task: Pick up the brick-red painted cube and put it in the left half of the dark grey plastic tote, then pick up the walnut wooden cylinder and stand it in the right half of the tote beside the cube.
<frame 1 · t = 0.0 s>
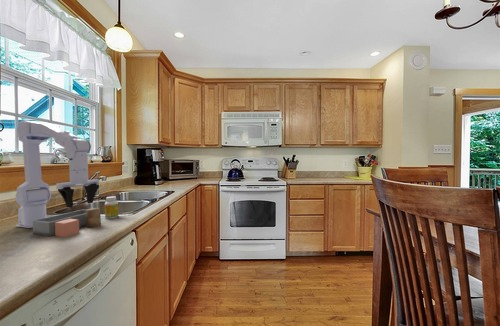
hand: (80, 205, 86), 10 cm above the countertop, tool pointing down, fingers open, 7 cm apart
supplement bottle: (111, 217, 106), on the countertop
cube: (67, 234, 83), on the countertop
tote: (68, 227, 91), on the countertop
cylinder: (93, 225, 93), on the countertop
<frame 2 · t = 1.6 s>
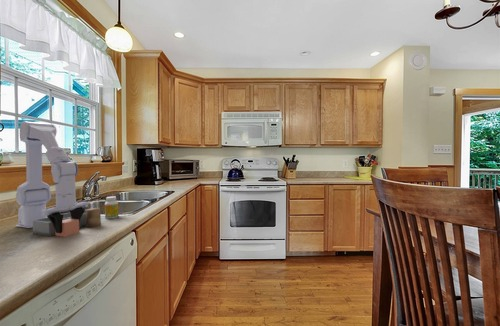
hand: (67, 230, 83), 1 cm above the countertop, tool pointing down, fingers closed on cube, 5 cm apart
cube: (67, 233, 83), on the countertop, touching gripper
everything else where it was.
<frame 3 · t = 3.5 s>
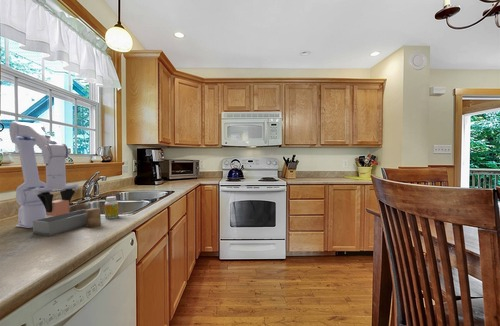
hand: (57, 210, 86), 8 cm above the countertop, tool pointing down, fingers closed on cube, 5 cm apart
cube: (57, 214, 86), point 7 cm above the countertop, touching gripper
everything else where it was.
when the fingers open (4 cm above the countertop, at t = 5.1 s): cube drops 1 cm, resting on tote.
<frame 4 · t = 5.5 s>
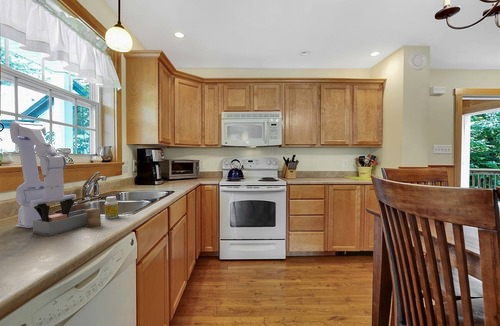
hand: (55, 220, 87), 4 cm above the countertop, tool pointing down, fingers open, 6 cm apart
cube: (56, 228, 87), point 1 cm above the countertop, touching tote
everything else where it was.
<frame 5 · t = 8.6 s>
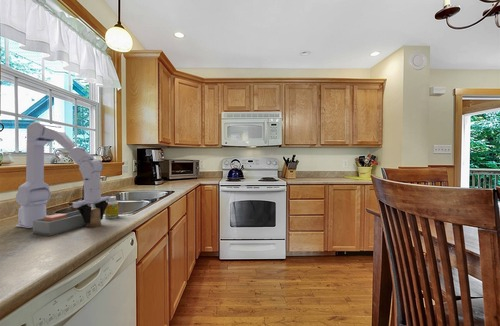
hand: (93, 221, 93), 2 cm above the countertop, tool pointing down, fingers closed on cylinder, 5 cm apart
cylinder: (93, 225, 93), on the countertop, touching gripper
everything else where it was.
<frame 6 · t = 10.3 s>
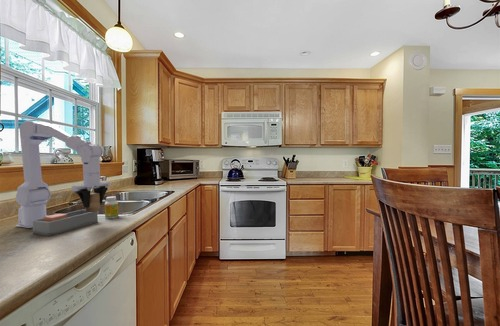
hand: (93, 205, 92), 8 cm above the countertop, tool pointing down, fingers closed on cylinder, 5 cm apart
cylinder: (93, 210, 93), point 6 cm above the countertop, touching gripper
everything else where it was.
when the fingers open (4 cm above the countertop, at t = 12.3 s): cylinder drops 1 cm, resting on tote.
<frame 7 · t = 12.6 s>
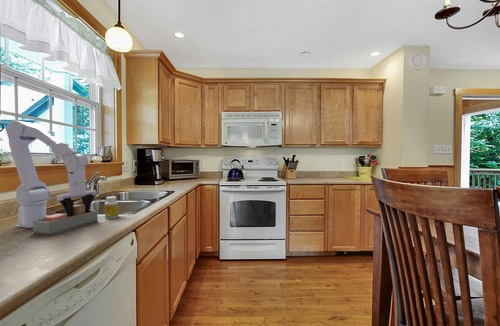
hand: (78, 214, 95), 4 cm above the countertop, tool pointing down, fingers open, 6 cm apart
cylinder: (78, 222, 95), point 1 cm above the countertop, touching tote
everything else where it was.
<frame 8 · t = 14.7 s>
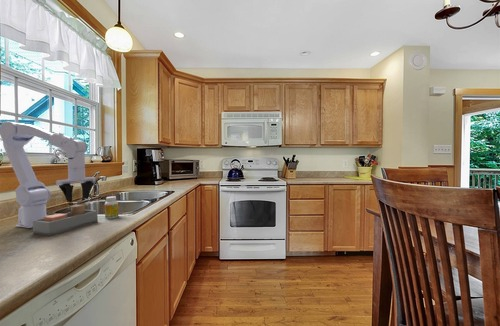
hand: (77, 200, 95), 10 cm above the countertop, tool pointing down, fingers open, 6 cm apart
nothing on the countertop moved.
at the end: cube inside the target area on the tote (4.3 cm from its centre), point 1.0 cm above the tote's base; cylinder inside the target area on the tote (4.2 cm from its centre), point 1.0 cm above the tote's base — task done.
